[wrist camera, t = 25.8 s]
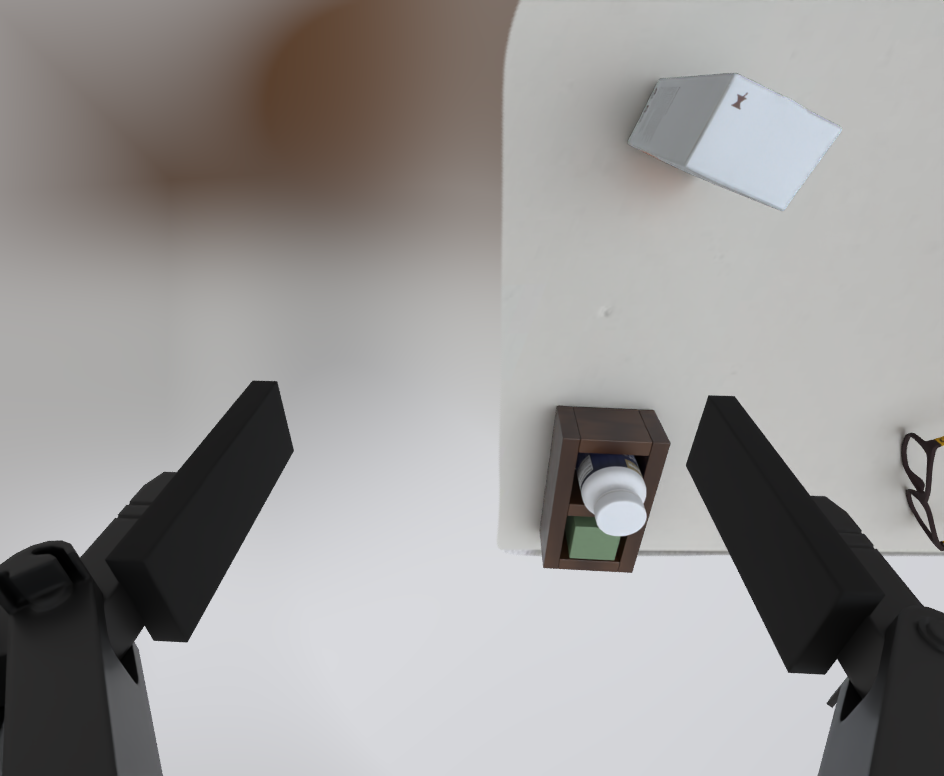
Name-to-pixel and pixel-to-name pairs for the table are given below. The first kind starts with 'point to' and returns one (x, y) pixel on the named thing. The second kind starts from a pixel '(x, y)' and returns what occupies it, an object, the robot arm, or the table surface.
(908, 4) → the table surface
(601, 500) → the pill bottle
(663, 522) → the table surface
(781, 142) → the cosmetic box
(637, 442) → the wooden cubby shelf
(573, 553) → the peg
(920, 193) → the table surface
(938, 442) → the eyeglasses
